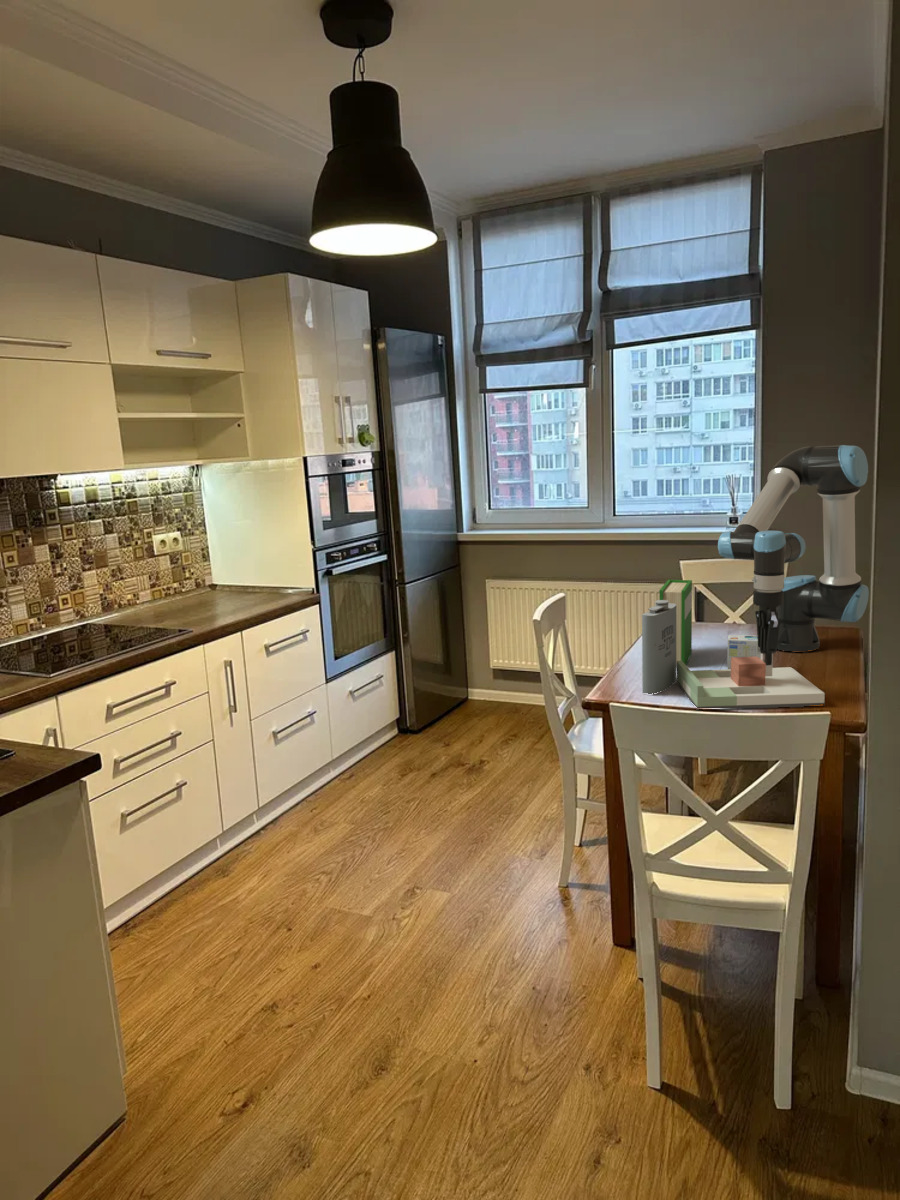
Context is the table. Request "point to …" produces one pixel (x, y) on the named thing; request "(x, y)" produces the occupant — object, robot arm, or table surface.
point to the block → (748, 671)
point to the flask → (659, 647)
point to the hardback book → (680, 614)
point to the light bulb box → (742, 647)
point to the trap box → (747, 689)
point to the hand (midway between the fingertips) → (766, 675)
